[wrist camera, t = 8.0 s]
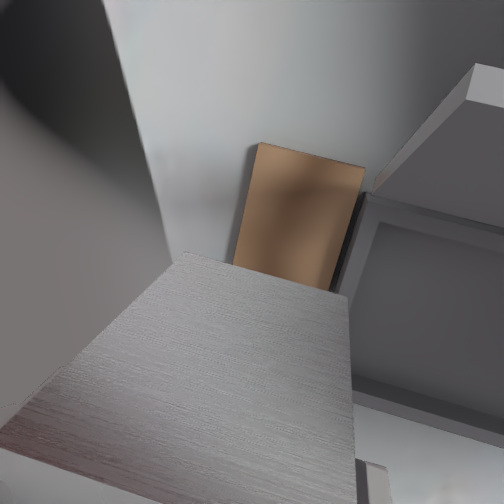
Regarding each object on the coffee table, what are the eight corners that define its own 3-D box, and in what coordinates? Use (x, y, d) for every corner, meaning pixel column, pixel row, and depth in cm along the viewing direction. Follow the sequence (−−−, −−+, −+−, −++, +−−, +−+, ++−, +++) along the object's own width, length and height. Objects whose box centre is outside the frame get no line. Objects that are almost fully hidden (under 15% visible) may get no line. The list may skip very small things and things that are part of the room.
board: (364, 167, 28) (365, 169, 27) (327, 289, 31) (326, 295, 31) (261, 142, 29) (258, 143, 28) (234, 263, 32) (231, 268, 31)
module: (347, 297, 13) (359, 571, 5) (295, 455, 15) (251, 809, 7) (185, 251, 13) (-15, 443, 6) (157, 411, 15) (-15, 701, 8)
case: (635, 259, 27) (669, 277, 24) (536, 432, 32) (554, 464, 29) (365, 191, 29) (368, 201, 26) (310, 365, 34) (307, 388, 31)
